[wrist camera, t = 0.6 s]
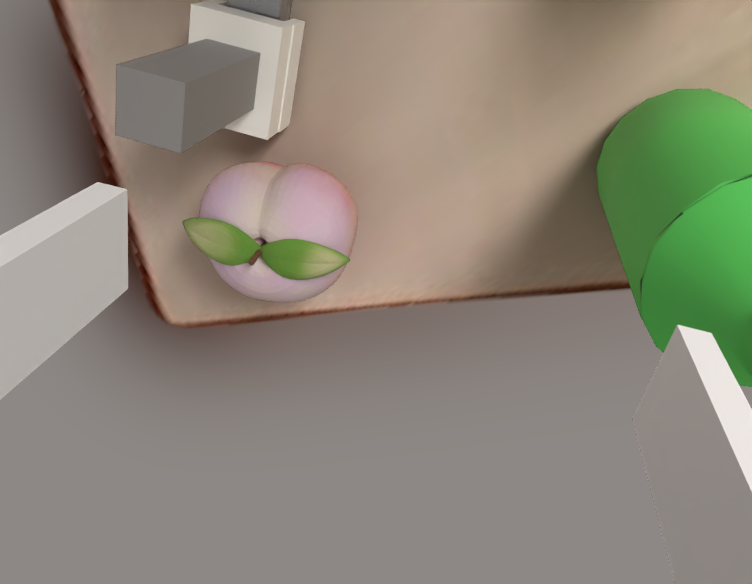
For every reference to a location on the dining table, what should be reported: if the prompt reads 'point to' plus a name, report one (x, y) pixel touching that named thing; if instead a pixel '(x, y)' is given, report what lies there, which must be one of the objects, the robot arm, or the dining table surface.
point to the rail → (264, 7)
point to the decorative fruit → (276, 229)
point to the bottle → (685, 216)
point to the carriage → (212, 80)
